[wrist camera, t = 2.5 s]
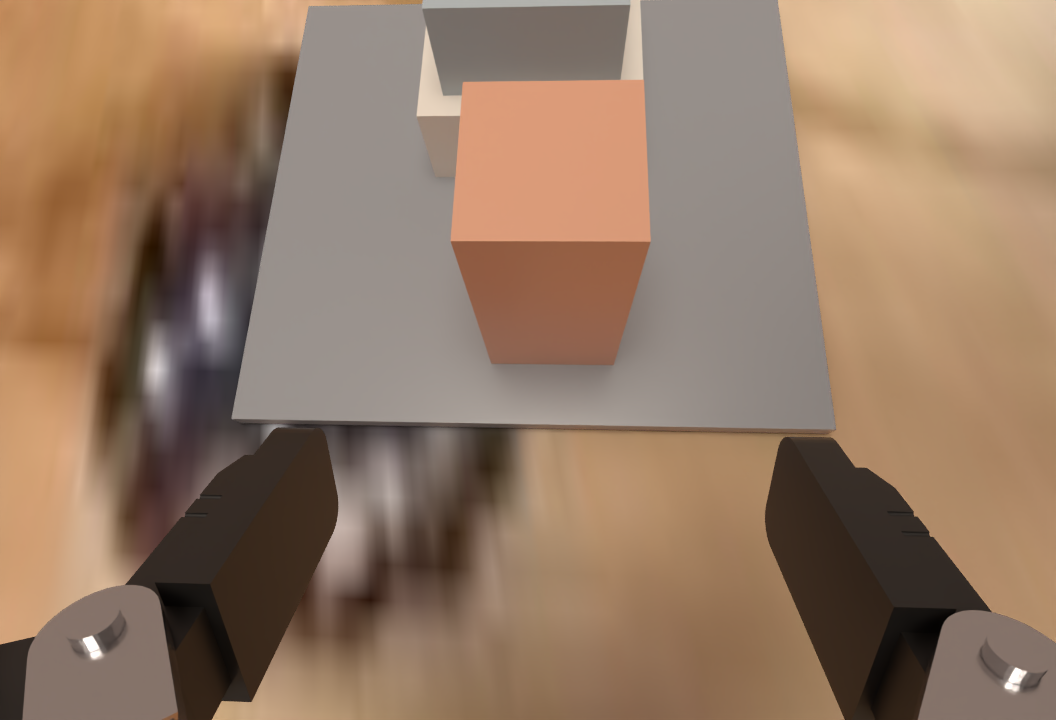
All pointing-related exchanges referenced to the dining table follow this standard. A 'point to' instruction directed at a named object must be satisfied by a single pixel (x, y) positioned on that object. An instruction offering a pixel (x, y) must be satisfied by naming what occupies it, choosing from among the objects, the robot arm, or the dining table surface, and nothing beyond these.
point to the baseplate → (436, 281)
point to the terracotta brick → (552, 215)
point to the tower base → (517, 54)
